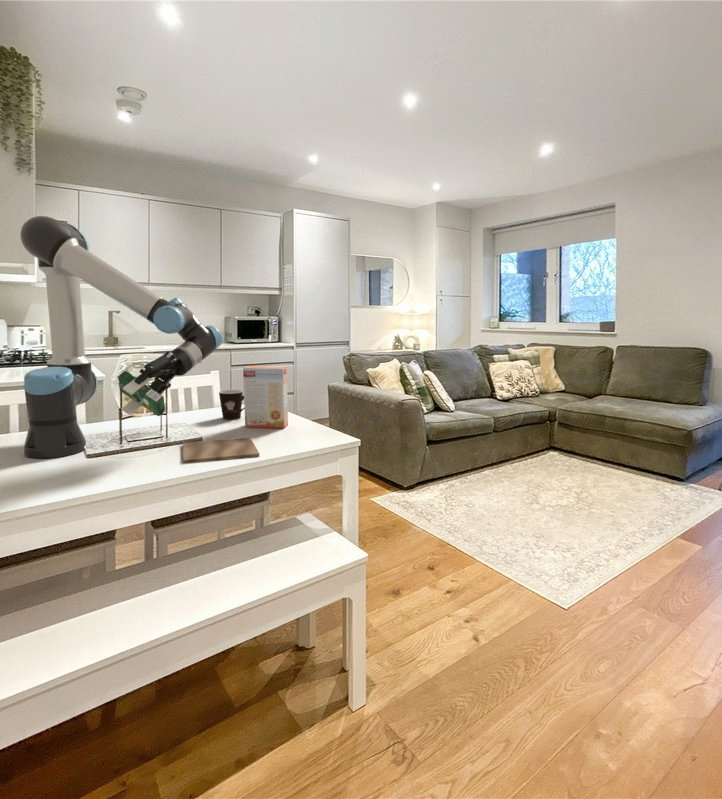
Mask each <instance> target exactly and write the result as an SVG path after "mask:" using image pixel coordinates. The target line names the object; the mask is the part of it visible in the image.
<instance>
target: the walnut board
mask: <svg viewBox="0 0 722 799" xmlns="http://www.w3.org/2000/svg"><path fill="white" fill-rule="evenodd" d="M182 452H183V453H182V455H183V457H182V458H183V464H190V463H200V462H211V461H212V460H213V461H221V460H223V459H224V460H234V458H235V459H243V458H244V457H246V458H254V457H253V456H257V457H260V452H259V451H258V449H257V447H256V445H255V443H254V441H253V440H252V438H251V437H245V438H244V437H243V438H228V439H219V440H217V439H216V440H205V441H204V440H203V441H202V440H201V441H191V442H182Z"/></svg>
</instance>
